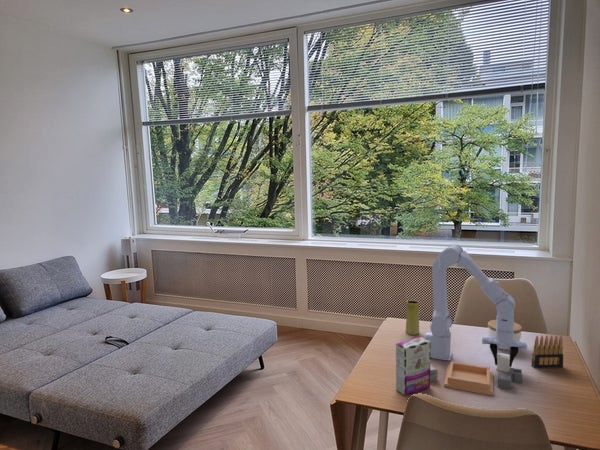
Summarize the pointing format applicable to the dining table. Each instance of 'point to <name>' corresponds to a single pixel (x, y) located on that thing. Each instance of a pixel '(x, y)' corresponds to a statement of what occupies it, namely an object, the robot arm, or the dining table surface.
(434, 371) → the usb wall charger
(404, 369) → the candy bar box
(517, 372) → the clip
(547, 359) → the ammunition clip
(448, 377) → the wooden tray
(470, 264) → the robot arm
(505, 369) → the plain white rectangular block
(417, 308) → the vase
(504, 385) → the clip
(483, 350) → the dining table surface
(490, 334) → the lidded bowl
